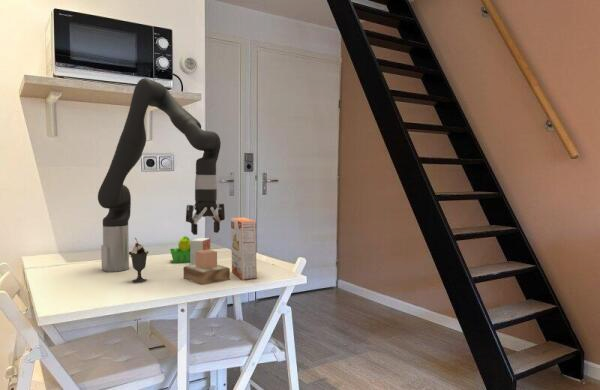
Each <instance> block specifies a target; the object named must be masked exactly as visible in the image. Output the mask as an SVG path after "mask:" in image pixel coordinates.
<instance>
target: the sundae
mask: <svg viewBox="0 0 600 390" xmlns="http://www.w3.org/2000/svg"><path fill="white" fill-rule="evenodd" d="M134 240H136V242H135V244H134V245H135V246H133V249H132V250H131V251H129V256H130V257H131V263H132V267H133V268H132V269H134V270H135V271H136V272H137V277H136V278H134V279H133V280H131V282H132V283H135V284H136V283H137V284H138V283H145V282H147V281H148V280H147V279H146V278H143V277H142V271H143V270H145V268H146V265H147V257H148V254H149V253H150V252H149V251H148V250H146V249H145V248H144V245H142V244H140V243H139V241H138V239H137V238H136V237H134Z"/></svg>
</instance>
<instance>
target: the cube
mask: <svg viewBox="0 0 600 390" xmlns="http://www.w3.org/2000/svg"><path fill="white" fill-rule="evenodd" d="M195 261H196V267H198V268H201V269H208V268H214V267H217V265H218V251H217V250H212V249H210V250H202V251H195Z"/></svg>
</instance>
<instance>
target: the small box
mask: <svg viewBox="0 0 600 390" xmlns="http://www.w3.org/2000/svg"><path fill="white" fill-rule="evenodd" d="M202 250H211V238H209V237H197V238H194V239H193V240H190V262H189V263H190V265H196V261H195V251H202Z"/></svg>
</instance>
